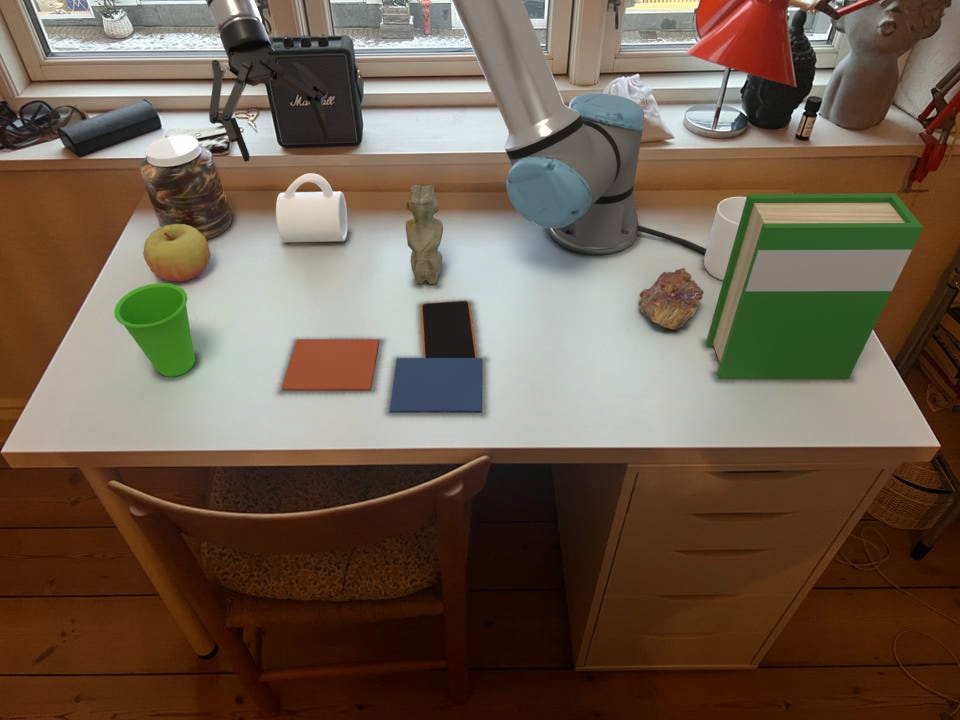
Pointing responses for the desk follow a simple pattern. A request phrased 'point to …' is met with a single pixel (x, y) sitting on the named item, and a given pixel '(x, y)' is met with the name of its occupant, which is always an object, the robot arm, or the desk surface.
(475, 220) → the desk surface
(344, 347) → the terracotta mat
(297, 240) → the mug
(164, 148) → the jar
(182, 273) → the apple
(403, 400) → the blue mat
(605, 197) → the robot arm
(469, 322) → the smartphone
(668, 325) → the mineral specimen
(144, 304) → the cup
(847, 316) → the hardback book
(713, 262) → the mug
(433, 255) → the sculpture
